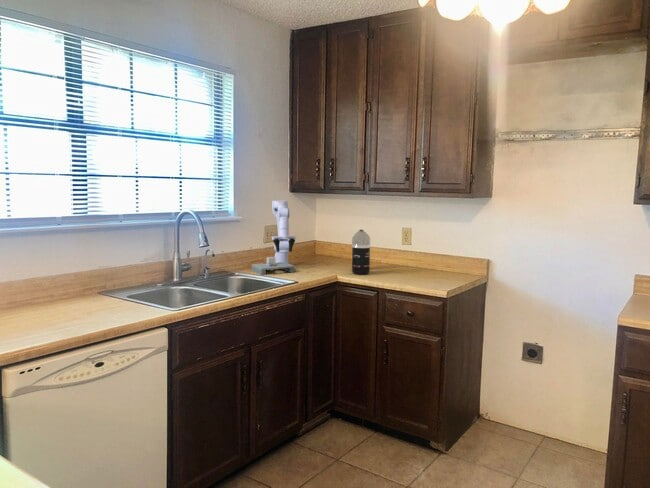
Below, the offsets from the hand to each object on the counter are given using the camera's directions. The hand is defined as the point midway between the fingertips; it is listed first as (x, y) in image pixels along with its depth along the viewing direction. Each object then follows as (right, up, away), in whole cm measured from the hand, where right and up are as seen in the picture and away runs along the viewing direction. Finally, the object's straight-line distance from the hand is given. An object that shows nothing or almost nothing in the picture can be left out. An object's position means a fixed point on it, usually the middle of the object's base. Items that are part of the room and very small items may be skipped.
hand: (284, 251), depth 309 cm
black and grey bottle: (+44, -12, -11) cm, 47 cm away
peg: (-8, -10, -2) cm, 13 cm away
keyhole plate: (-6, -11, -5) cm, 14 cm away
